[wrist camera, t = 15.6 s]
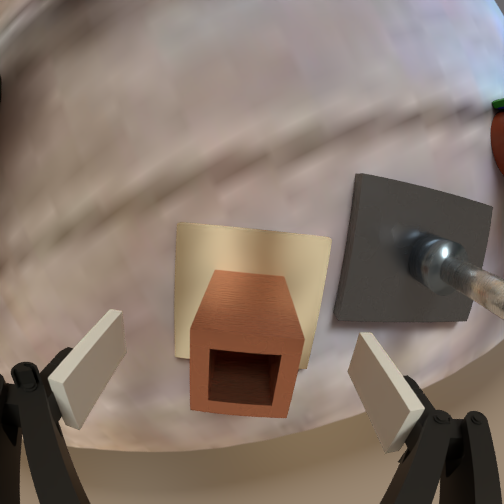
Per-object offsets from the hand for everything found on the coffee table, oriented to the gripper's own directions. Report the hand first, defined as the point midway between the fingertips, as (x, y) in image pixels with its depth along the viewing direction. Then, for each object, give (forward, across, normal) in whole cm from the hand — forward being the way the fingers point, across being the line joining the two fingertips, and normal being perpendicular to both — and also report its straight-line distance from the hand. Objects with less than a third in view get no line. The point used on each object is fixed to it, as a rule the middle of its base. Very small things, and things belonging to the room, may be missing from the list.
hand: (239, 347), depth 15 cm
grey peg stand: (+8, +14, +4) cm, 17 cm away
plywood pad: (+8, 0, 0) cm, 8 cm away
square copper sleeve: (+7, 0, 0) cm, 7 cm away
